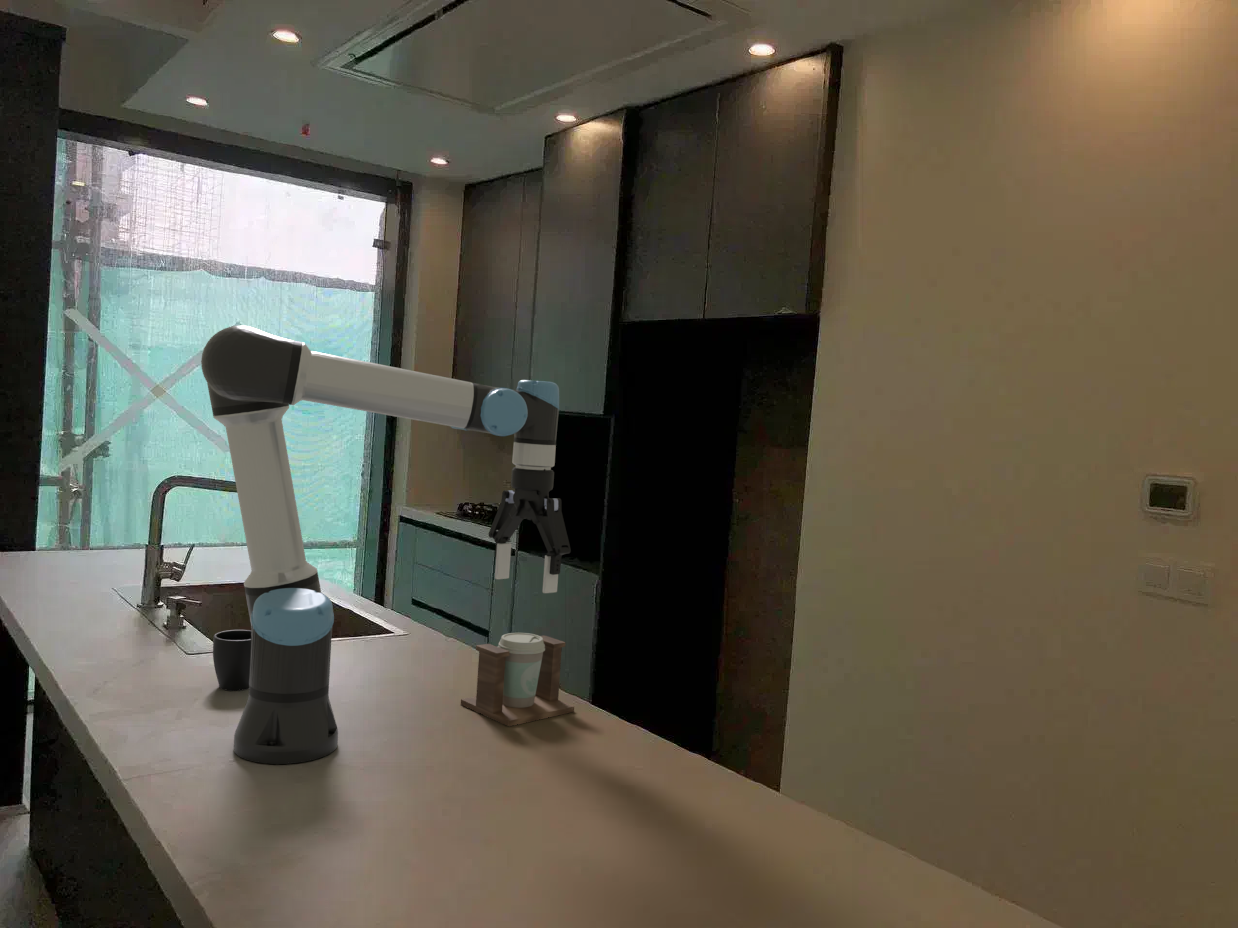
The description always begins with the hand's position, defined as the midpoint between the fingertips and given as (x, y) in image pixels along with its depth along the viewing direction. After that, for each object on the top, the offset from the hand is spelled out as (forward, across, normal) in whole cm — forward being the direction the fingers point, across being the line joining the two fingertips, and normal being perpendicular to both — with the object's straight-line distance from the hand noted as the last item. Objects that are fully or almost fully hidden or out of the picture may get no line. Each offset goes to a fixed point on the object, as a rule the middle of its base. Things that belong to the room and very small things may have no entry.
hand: (525, 585), depth 175 cm
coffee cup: (+22, 0, 0) cm, 22 cm away
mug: (+23, +37, +34) cm, 55 cm away
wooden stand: (+22, 0, 0) cm, 23 cm away
